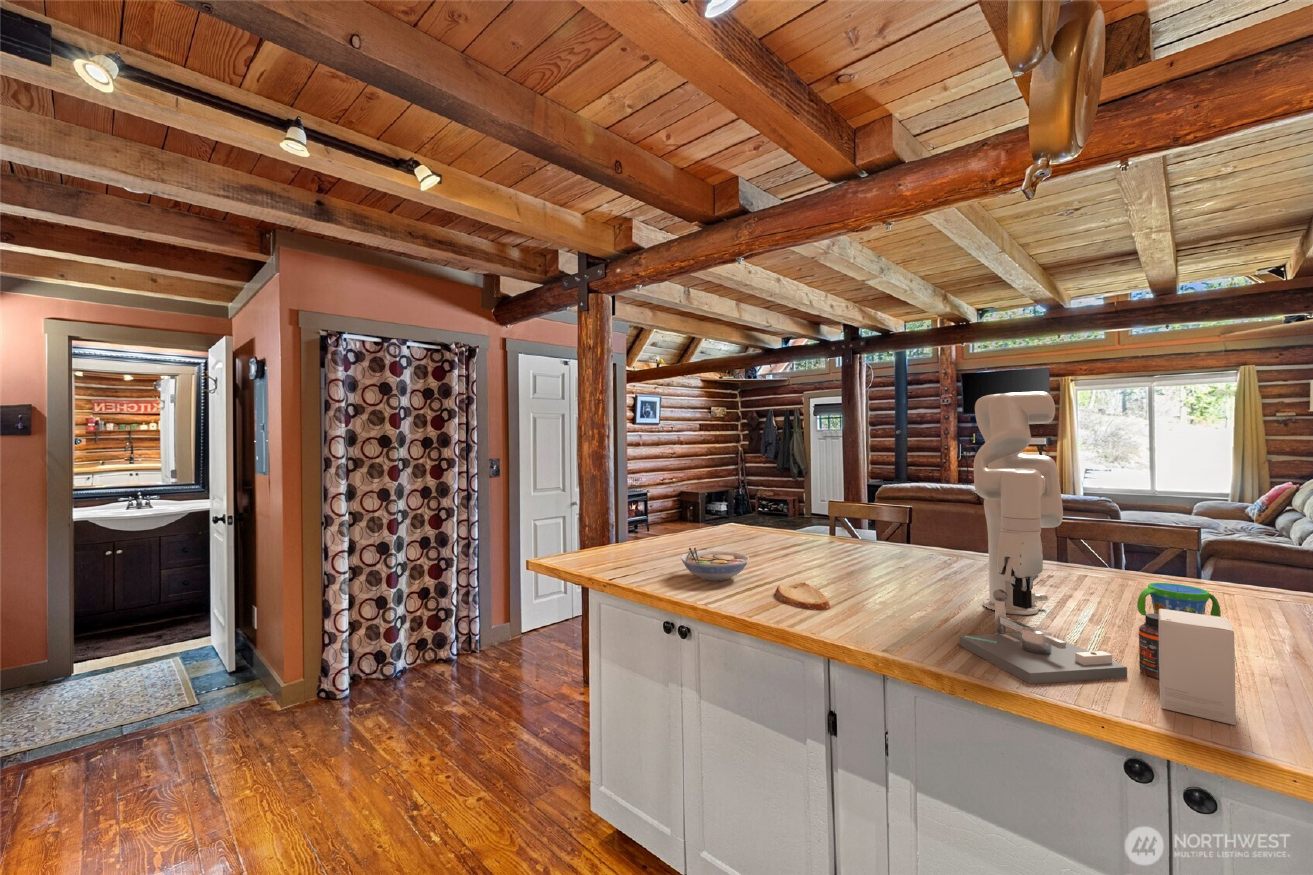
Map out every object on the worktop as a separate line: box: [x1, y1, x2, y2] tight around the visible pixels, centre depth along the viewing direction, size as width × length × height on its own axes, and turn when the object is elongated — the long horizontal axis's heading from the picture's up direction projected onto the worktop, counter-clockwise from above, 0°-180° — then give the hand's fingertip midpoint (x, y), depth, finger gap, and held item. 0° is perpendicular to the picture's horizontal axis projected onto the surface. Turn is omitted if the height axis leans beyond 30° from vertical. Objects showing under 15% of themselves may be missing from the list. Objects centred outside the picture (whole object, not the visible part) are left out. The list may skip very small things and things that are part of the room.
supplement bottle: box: [1138, 612, 1159, 680], centre depth 105 cm, size 6×6×11 cm
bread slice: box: [774, 581, 832, 611], centre depth 160 cm, size 18×18×4 cm
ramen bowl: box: [680, 547, 750, 583], centre depth 184 cm, size 25×23×8 cm
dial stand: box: [958, 632, 1128, 685], centre depth 113 cm, size 20×20×4 cm
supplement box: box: [1158, 609, 1237, 726], centre depth 93 cm, size 9×9×15 cm
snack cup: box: [1136, 582, 1222, 617], centre depth 130 cm, size 16×10×10 cm
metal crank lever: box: [993, 589, 1067, 654], centre depth 116 cm, size 18×5×10 cm, turn 7°
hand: (1022, 606), depth 124 cm, fingers closed
